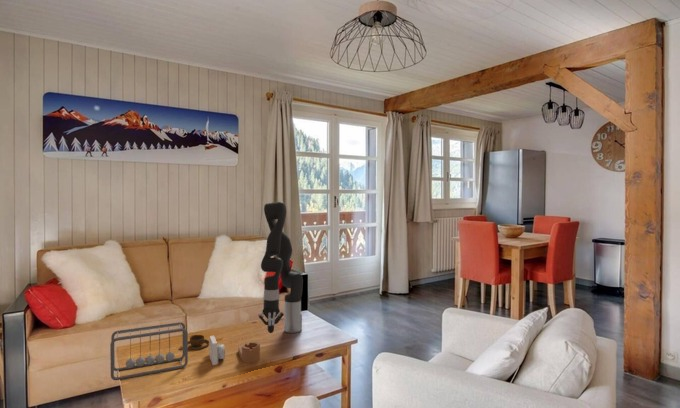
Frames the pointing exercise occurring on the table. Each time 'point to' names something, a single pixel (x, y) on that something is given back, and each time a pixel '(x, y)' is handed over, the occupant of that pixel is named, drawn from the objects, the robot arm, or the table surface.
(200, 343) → the place setting
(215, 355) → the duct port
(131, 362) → the newton's cradle
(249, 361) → the bracket
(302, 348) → the table surface
